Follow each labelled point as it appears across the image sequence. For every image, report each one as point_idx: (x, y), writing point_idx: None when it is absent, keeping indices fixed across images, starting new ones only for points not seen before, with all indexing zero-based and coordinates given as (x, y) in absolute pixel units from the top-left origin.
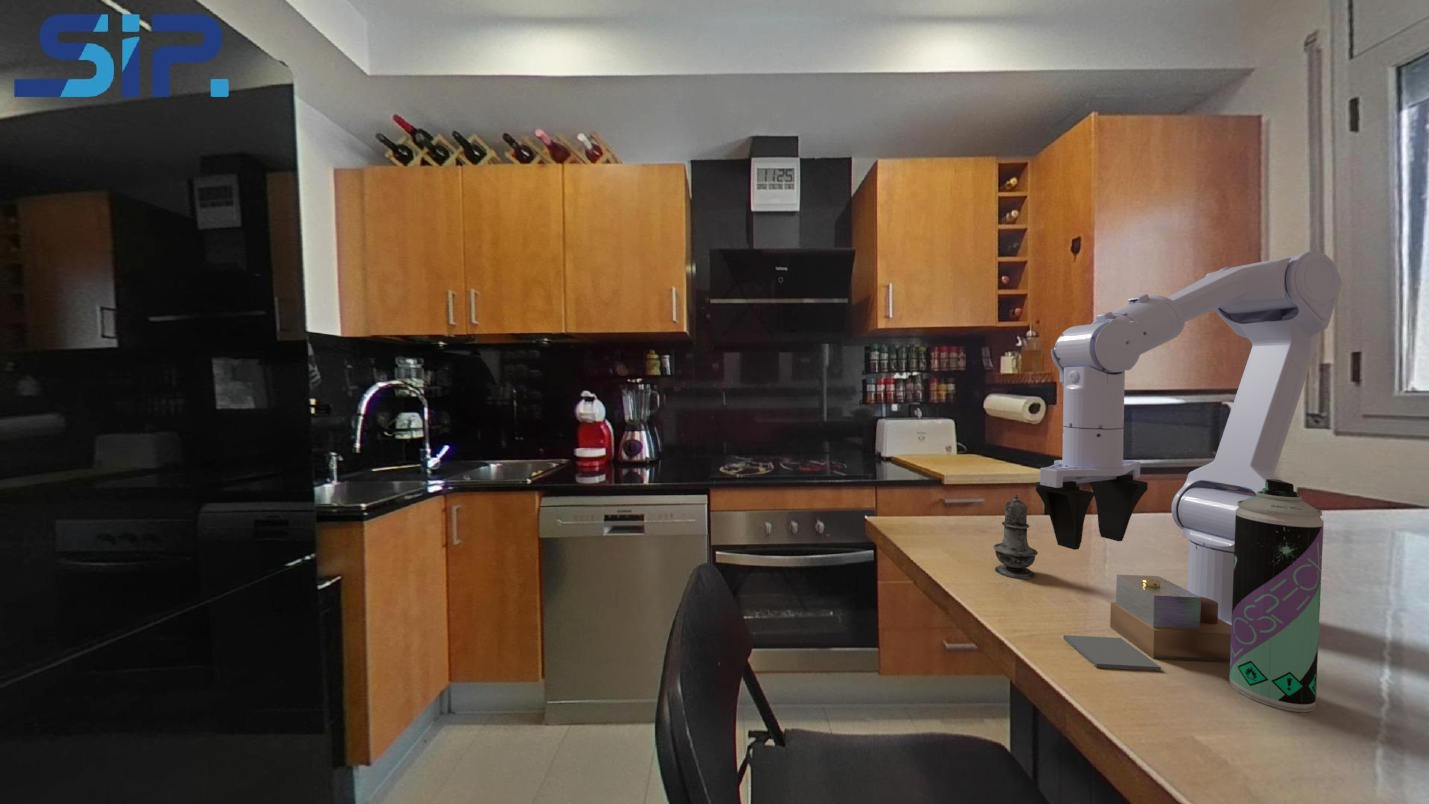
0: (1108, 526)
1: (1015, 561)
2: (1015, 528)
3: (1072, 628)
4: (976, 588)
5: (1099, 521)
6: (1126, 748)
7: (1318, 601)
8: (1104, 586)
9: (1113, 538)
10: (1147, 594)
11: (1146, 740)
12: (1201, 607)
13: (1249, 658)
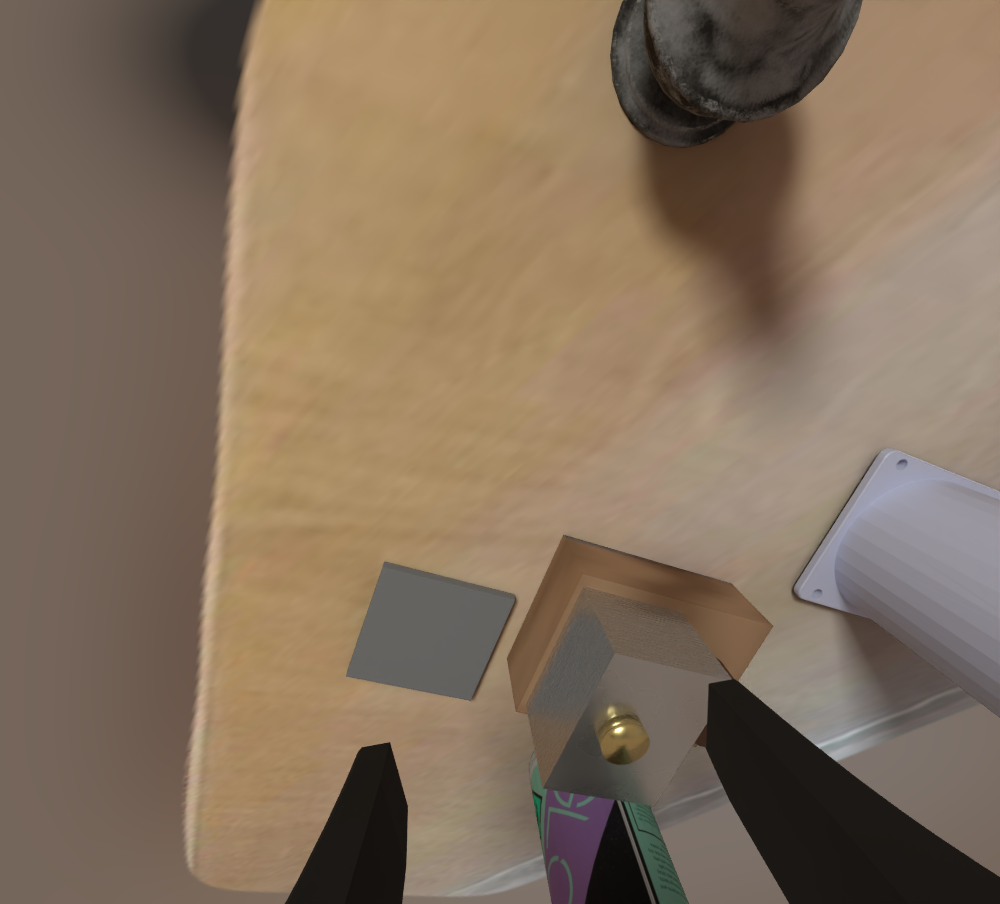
0: (749, 774)
1: (665, 88)
2: None
3: (460, 520)
4: (382, 172)
5: (767, 751)
6: (190, 833)
7: None
8: (854, 300)
9: (712, 737)
10: (551, 760)
11: (241, 823)
12: None
13: (542, 841)
